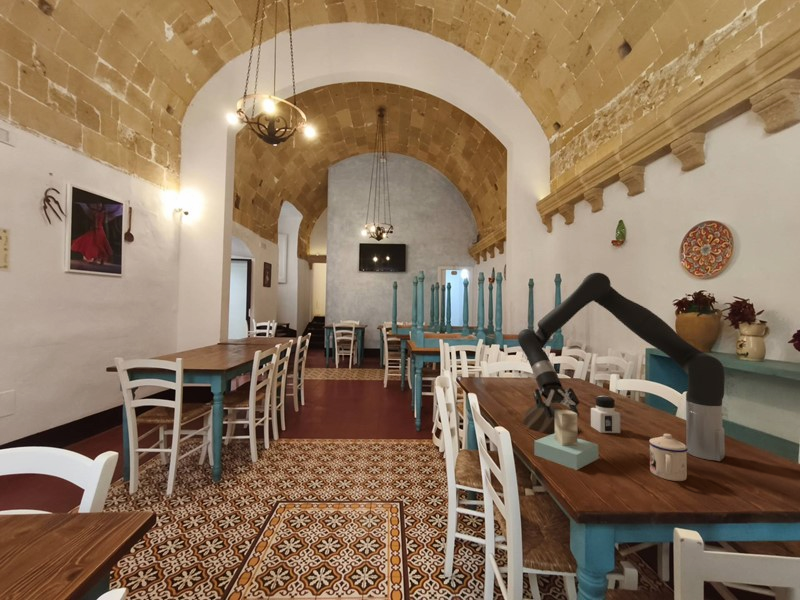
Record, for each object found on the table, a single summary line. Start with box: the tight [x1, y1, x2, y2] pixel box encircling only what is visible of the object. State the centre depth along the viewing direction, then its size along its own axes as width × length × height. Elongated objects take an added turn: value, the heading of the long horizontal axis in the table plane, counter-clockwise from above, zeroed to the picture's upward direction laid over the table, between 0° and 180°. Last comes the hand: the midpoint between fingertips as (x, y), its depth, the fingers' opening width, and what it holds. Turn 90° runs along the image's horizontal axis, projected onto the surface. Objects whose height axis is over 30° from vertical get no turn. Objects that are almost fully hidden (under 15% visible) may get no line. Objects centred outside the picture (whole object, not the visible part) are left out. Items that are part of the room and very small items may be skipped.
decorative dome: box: [522, 401, 564, 434], centre depth 150 cm, size 19×20×10 cm
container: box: [590, 395, 621, 434], centre depth 146 cm, size 8×8×13 cm
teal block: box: [533, 433, 599, 471], centre depth 119 cm, size 14×14×5 cm
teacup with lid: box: [648, 433, 688, 482], centre depth 105 cm, size 12×9×12 cm
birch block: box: [555, 408, 578, 446], centre depth 119 cm, size 5×5×10 cm
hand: (564, 418), depth 120 cm, fingers open, 8 cm apart
